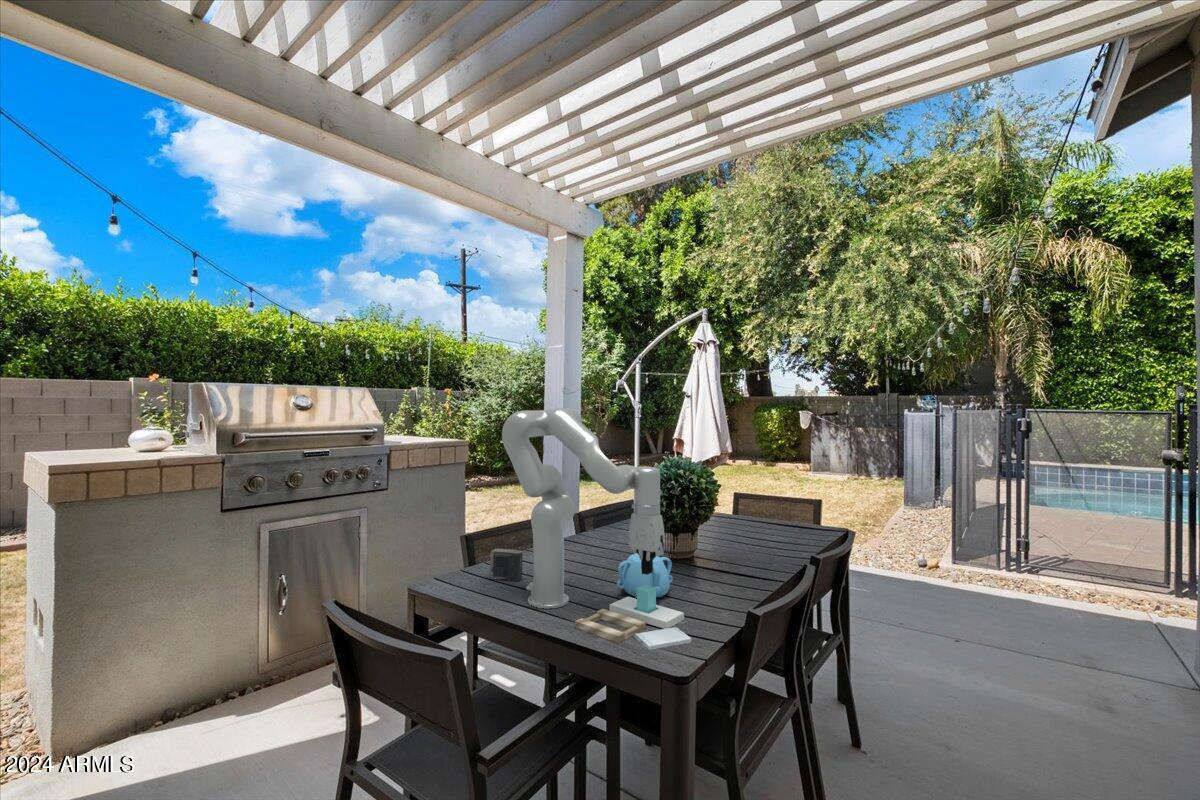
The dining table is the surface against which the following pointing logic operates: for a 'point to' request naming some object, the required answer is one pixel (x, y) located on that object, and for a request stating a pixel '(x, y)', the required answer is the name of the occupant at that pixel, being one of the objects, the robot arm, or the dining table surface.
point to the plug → (646, 599)
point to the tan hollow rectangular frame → (609, 633)
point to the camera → (506, 564)
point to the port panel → (657, 618)
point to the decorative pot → (636, 579)
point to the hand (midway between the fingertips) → (647, 573)
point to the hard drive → (662, 638)
